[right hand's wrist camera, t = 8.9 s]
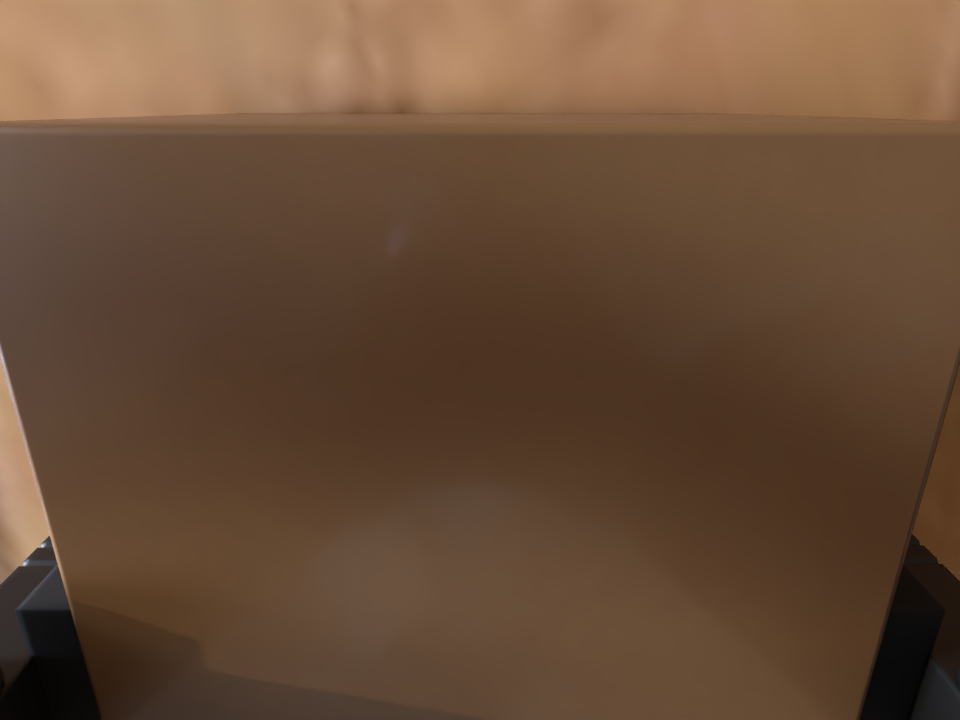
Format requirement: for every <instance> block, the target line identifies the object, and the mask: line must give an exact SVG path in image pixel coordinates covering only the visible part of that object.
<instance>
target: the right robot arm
mask: <svg viewBox="0 0 960 720" xmlns="http://www.w3.org/2000/svg"><path fill="white" fill-rule="evenodd" d="M937 560H938V559H937V558H936V557H935V556H934V555H933V554H932V553H931V552H930V551H929V550H928V549H927V548H926V547H925V546H920V544H919V540H918V539H917V538H916V537H915V536H914V535H913V534H912V535H911V538H910V542H909V546H908V549H907V553H906V556H905V560H904V563H903V567H902V570H901V574H900V578H899V581H898V585H897V588H896V592H895V595H894V599H893V602H892V606H891V610H890V613H889V617H888V620H887V624H886V627H885V631H884V634H883V638H882V642H881V645H880V649H879V652H878V656H877V659H876V663H875V666H874V670H873V673H872V677H871V681H870V684H869V688H868V691H867V695H866V698H865V702H864V705H863V709H862V713H861V716H860V720H960V581H959V580H958V579H957V578H956V577H955V576H954V575H953V574H952V573H951V572H950V571H949V570H948V569H947V568H946V567H945V566H944V565H943V564H938V562H937ZM0 720H101V717H100V713H99V710H98V706H97V702H96V699H95V695H94V692H93V688H92V685H91V681H90V677H89V674H88V670H87V667H86V663H85V660H84V656H83V652H82V649H81V645H80V642H79V638H78V635H77V631H76V627H75V624H74V620H73V617H72V613H71V610H70V606H69V602H68V599H67V595H66V592H65V588H64V584H63V581H62V577H61V574H60V570H59V567H58V563H57V559H56V556H55V552H54V549H53V545H52V542H51V538H50V536H49V537H48V538H47V539H46V540H45V541H44V542H43V543H42V547H41V548H37V549H36V550H35V551H34V552H33V553H32V554H31V555H30V556H29V557H28V558H27V559H26V560H25V561H24V565H23V566H19V567H18V568H17V569H16V570H15V571H14V572H13V573H12V574H11V575H10V576H9V577H8V578H7V579H6V580H5V581H4V582H3V583H2V584H1V585H0Z"/></svg>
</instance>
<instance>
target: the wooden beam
mask: <svg viewBox="0 0 960 720" xmlns="http://www.w3.org/2000/svg"><path fill="white" fill-rule="evenodd" d="M0 359H1V363H2V366H3V370H4V374H5V377H6V381H7V384H8V388H9V391H10V395H11V399H12V402H13V406H14V409H15V413H16V416H17V420H18V424H19V427H20V431H21V434H22V438H23V441H24V445H25V449H26V452H27V456H28V459H29V463H30V467H31V470H32V474H33V477H34V481H35V484H36V488H37V492H38V495H39V499H40V502H41V506H42V509H43V513H44V517H45V520H46V524H47V527H48V531H49V534H50V538H51V542H52V545H53V549H54V552H55V556H56V559H57V563H58V567H59V570H60V574H61V577H62V581H63V584H64V588H65V592H66V595H67V599H68V602H69V606H70V610H71V613H72V617H73V620H74V624H75V627H76V631H77V635H78V638H79V642H80V645H81V649H82V652H83V656H84V660H85V663H86V667H87V670H88V674H89V677H90V681H91V685H92V688H93V692H94V695H95V699H96V702H97V706H98V710H99V713H100V717H101V720H860V716H861V713H862V709H863V705H864V702H865V698H866V695H867V691H868V688H869V684H870V681H871V677H872V673H873V670H874V666H875V663H876V659H877V656H878V652H879V649H880V645H881V642H882V638H883V634H884V631H885V627H886V624H887V620H888V617H889V613H890V610H891V606H892V602H893V599H894V595H895V592H896V588H897V585H898V581H899V578H900V574H901V570H902V567H903V563H904V560H905V556H906V553H907V549H908V546H909V542H910V538H911V535H912V531H913V528H914V524H915V521H916V517H917V514H918V510H919V507H920V503H921V499H922V496H923V492H924V489H925V485H926V482H927V478H928V475H929V471H930V467H931V464H932V460H933V457H934V453H935V450H936V446H937V443H938V439H939V435H940V432H941V428H942V425H943V421H944V418H945V414H946V411H947V407H948V403H949V400H950V396H951V393H952V389H953V386H954V382H955V379H956V375H957V372H958V368H959V364H960V122H955V121H925V120H895V119H865V118H835V117H805V116H775V115H746V114H299V113H238V114H208V115H177V116H147V117H116V118H86V119H55V120H24V121H0Z"/></svg>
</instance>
